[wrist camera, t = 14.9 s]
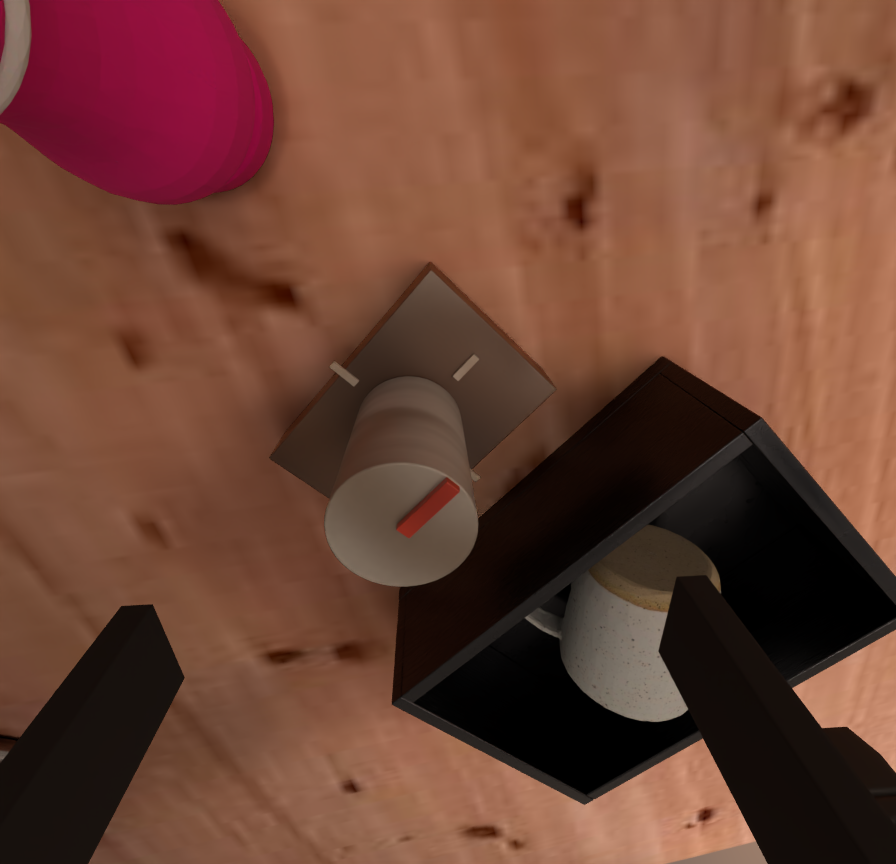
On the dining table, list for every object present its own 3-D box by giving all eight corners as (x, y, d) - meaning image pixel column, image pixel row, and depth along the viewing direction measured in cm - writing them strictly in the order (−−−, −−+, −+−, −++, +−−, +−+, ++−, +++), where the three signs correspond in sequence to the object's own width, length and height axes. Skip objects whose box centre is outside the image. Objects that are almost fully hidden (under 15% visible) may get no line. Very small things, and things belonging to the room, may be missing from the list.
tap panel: (404, 515, 28) (402, 550, 25) (276, 425, 25) (256, 453, 22) (550, 376, 24) (566, 398, 22) (420, 252, 22) (420, 258, 19)
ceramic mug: (685, 511, 27) (769, 612, 21) (658, 610, 31) (722, 725, 24) (509, 514, 27) (534, 618, 20) (503, 614, 31) (522, 731, 24)
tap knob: (415, 487, 24) (409, 615, 16) (336, 429, 22) (289, 542, 14) (482, 421, 22) (512, 529, 15) (403, 353, 20) (391, 436, 13)
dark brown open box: (552, 685, 36) (584, 805, 29) (399, 588, 31) (390, 705, 23) (804, 514, 29) (926, 613, 22) (662, 355, 24) (762, 417, 17)
